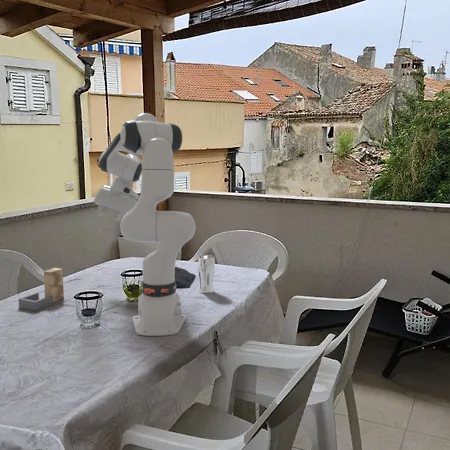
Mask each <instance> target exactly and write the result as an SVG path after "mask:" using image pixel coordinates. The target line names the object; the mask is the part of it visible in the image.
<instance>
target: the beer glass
mask: <svg viewBox="0 0 450 450" xmlns="http://www.w3.org/2000/svg"><path fill="white" fill-rule="evenodd" d="M215 265H216V264H215V256H214V255H212V254H211V255H210V254H204V255H199V256H198V265H197V268H198V269H197V271H198V277H199V293H201V294H212V293H214V290H215V289H214V285H213V284H214V283H213V282H214V277H215V267H216V266H215Z"/></svg>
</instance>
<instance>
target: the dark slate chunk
mask: <svg viewBox="0 0 450 450" xmlns="http://www.w3.org/2000/svg"><path fill="white" fill-rule="evenodd" d="M196 276H197V275H196V274H194V273H191V272H189V271H188V270H186V269H184V268H182V267H178V266H175V280H176V288H179V289H181V288H182V289H188V288H191V286H192V285H193V283H194V282H195V277H196Z"/></svg>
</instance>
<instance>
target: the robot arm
mask: <svg viewBox="0 0 450 450" xmlns="http://www.w3.org/2000/svg"><path fill="white" fill-rule="evenodd" d="M182 143H183V132H182V129H181V128H180V127H179V126H178V125H176V124H174V123H170V122H169V123H167V122H161V121H158V118H157V117H155V115H153V114H152V113H148V112H143V113H142V112H141V113H140V114H138V115H137V116H136V117H135V118H134V119H133V120H127V121H125V122H124V123H123V124H122V127H121V129H120V132H119V133H117V134H116V136H115V137H114V138H113V139H112V141H111V142H110V144H109V145H108V146H107V147H106V149H105V150H104V151H103V152H102V153H101V154H100V156H99V159H98V165H99V168H100V170H101V171H103V172H105V173H109V174H112V175H113V176H115V177H114V178H113V181H112V183H111V185H110V186H108V185H104V186H101V187H100V189H99V190H98V192H97V194H96V195H95V196H94V199H93V202H94V204H96V205H98V212H97V215H98V216H99V217H103V216H104V211H103V210H104V209H105V208H106V209H110V210H115V211H118V212H119V214H117V215H115V216H114V221H116V222H120V224H119V227H120V228H119V229H120V233H121V236H122V237H123V238H124V240H126V241H130V242H135V243H144V244H145V243H151V244H152V243H154V244H155V243H156V244H157V243H158V244H160V248H158V249H157V250H154V251H153V252H151V253H149V254H147V255H146V256H145V257H144V258H143V260H142V281H141V294H140V295H139V296H138V297H137V298H138V299H137V300H138V301H137V302H138V304H137V305H138V308H137V310H136V313H137V315H134V316H133V317H132V324H133V327H134V331H135V334H136V335H140V336H145V337H146V336H147V337H151V336H152V337H154V336H155V337H156V336H157V337H159V336H161V337H162V336H163V337H164V336H170V335H176V334H179V332H180V331H181V329H182V327H183V325H184V323H185V322H186V320H187V316H186V314H182V309H181V305H182V302H181V296H180V294H178V293H177V292H176V291H177V287H176V280H175V267H176V262H177V261H176V260H177V257H178V254H179V252H180V250H181V249H182V248H183V246H184V245H185V244H187V243H188V242H190V240H192V238H193V237H194V235H195V233H196V229H197V228H196V227H197V226H196V222H195V218H193V216H192V214H190V212H189V213H188V212H184V211H178V210H158V209H157V207H158V206H157V205H158V204H159V203H161V202H164V201H166V200H167V199H169V198H170V197H172V195H173V194H174V192H175V160H174V159H175V158H174V153H176V152H177V153H178V151H179V150H180V149H181V147H182ZM121 152H125V153H127V154H124V153H121ZM139 156H142V159H141V158H140V157H139ZM140 177H141V178H140ZM140 179H141V184H140V194H138V193H137V192H135V191H134V190H133V187H134V183H135V182H138V181H140Z"/></svg>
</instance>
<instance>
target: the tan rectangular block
mask: <svg viewBox="0 0 450 450" xmlns="http://www.w3.org/2000/svg"><path fill="white" fill-rule="evenodd" d="M43 282H44V283H43V284H44V298H45V297H47V296H50V295H53V303H54V302H56V301H59V300H62V299H64V298H65V294H64V273H63V268H58V267H53V268H50V269H46V270H44V271H43Z"/></svg>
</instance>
